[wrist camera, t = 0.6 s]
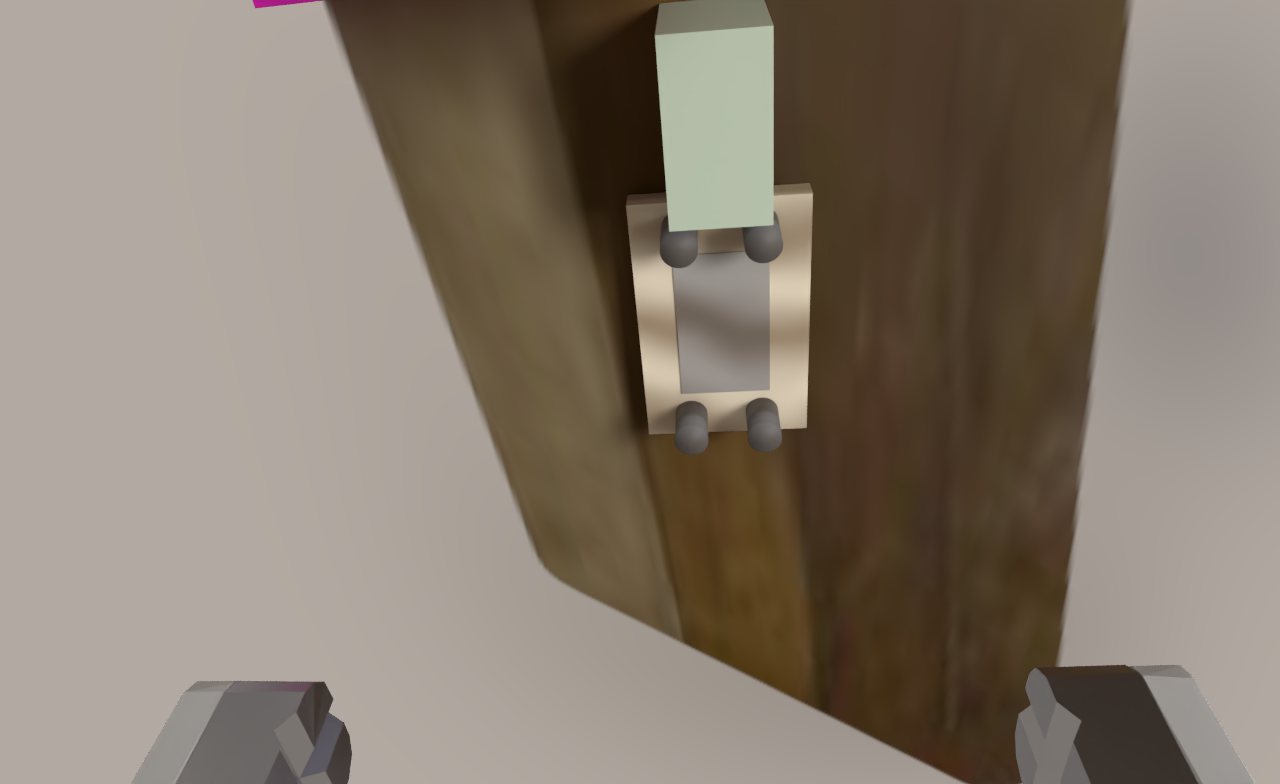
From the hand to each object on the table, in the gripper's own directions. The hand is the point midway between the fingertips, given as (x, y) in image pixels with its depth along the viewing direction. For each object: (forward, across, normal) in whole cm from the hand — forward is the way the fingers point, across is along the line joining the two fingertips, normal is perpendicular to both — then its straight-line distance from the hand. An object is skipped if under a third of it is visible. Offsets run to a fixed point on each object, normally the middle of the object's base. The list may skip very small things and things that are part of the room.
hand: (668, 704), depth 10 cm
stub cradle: (+40, -1, +16) cm, 43 cm away
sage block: (+40, -1, +4) cm, 40 cm away
